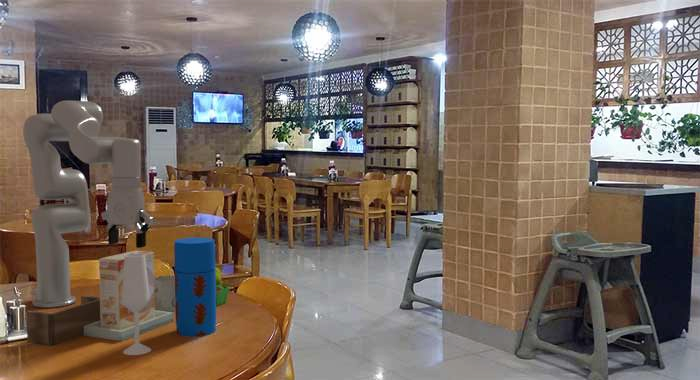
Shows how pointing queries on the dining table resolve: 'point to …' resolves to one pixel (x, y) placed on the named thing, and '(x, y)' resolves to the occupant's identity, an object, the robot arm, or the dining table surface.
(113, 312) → the coffeecake box
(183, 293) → the thermos
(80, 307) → the holder
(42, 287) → the robot arm
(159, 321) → the tray
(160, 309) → the mug
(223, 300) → the fruit basket
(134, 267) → the champagne flute
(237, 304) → the dining table surface
